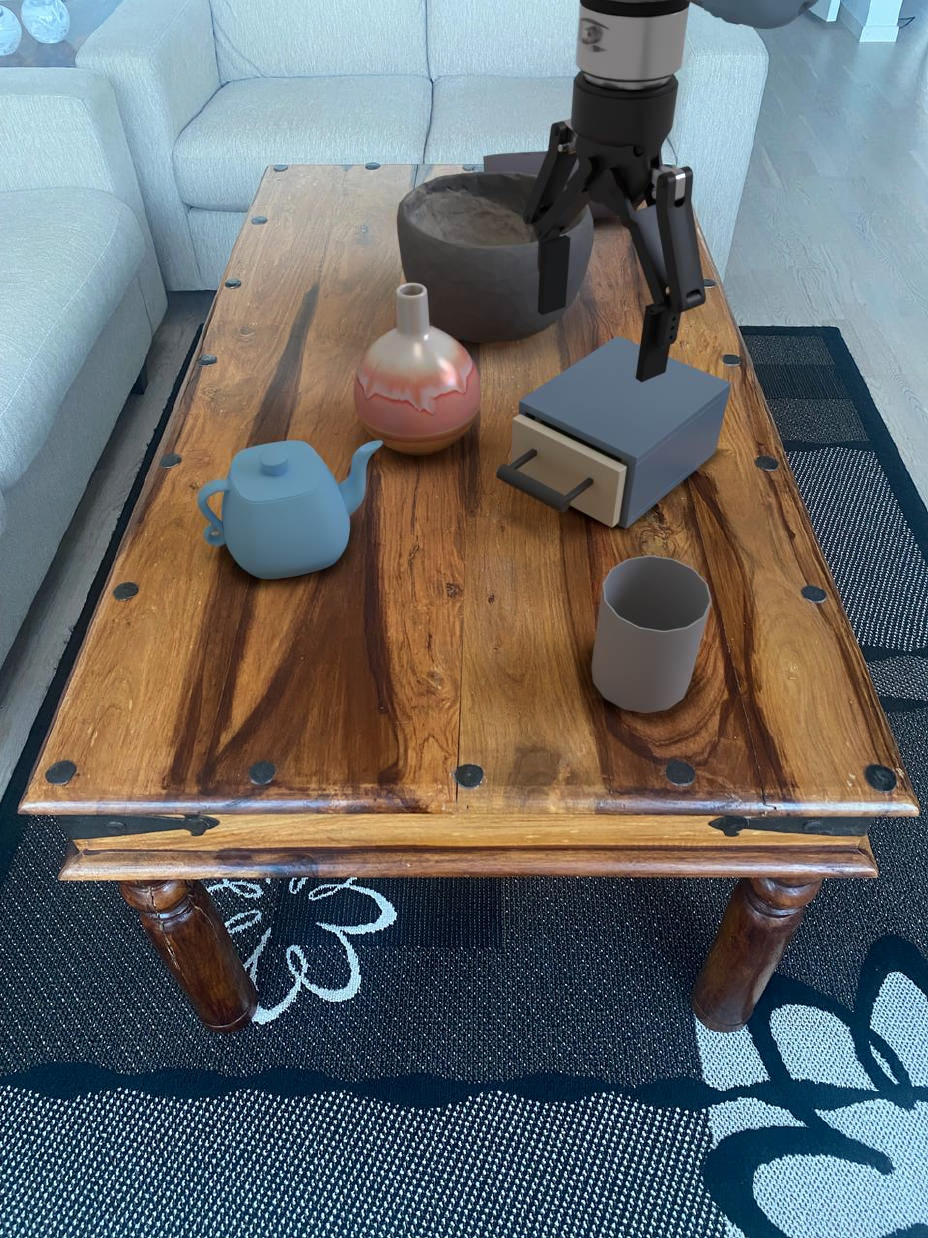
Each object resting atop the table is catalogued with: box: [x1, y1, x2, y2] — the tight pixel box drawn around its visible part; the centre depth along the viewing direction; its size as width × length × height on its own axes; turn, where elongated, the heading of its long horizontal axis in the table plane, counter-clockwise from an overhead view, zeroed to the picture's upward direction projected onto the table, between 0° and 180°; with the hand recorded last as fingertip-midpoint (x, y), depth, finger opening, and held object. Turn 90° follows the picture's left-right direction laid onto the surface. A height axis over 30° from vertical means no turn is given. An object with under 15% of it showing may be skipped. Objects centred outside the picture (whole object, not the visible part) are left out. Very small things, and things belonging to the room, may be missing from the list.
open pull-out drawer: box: [495, 413, 628, 528], centre depth 94 cm, size 21×13×7 cm, turn 138°
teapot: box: [196, 439, 383, 580], centre depth 87 cm, size 13×11×18 cm
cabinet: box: [518, 335, 732, 530], centre depth 96 cm, size 17×14×9 cm
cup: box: [590, 555, 713, 714], centre depth 75 cm, size 8×8×10 cm
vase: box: [352, 283, 482, 457], centre depth 96 cm, size 14×14×18 cm
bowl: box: [396, 171, 595, 344], centre depth 115 cm, size 24×24×15 cm
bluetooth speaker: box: [482, 150, 639, 221], centre depth 137 cm, size 23×9×10 cm, turn 90°
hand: (598, 341), depth 81 cm, fingers open, 13 cm apart
